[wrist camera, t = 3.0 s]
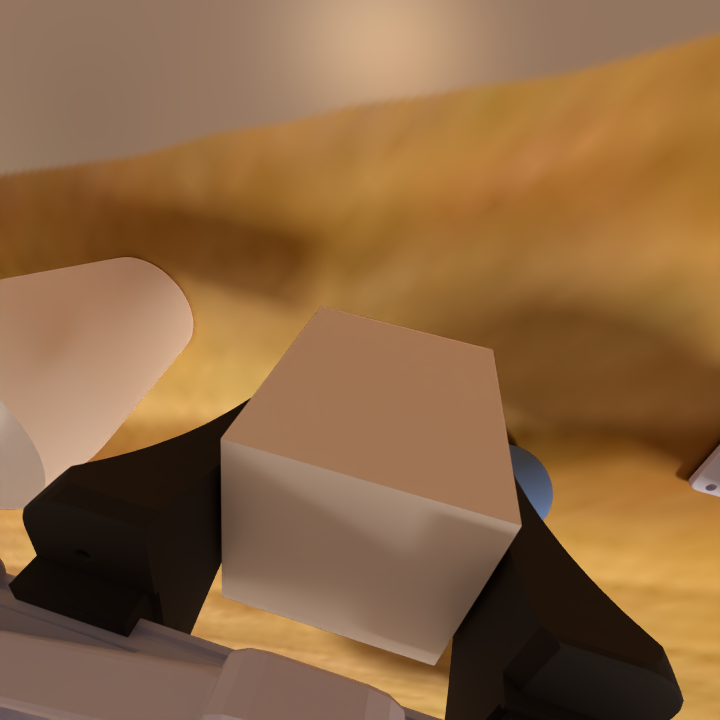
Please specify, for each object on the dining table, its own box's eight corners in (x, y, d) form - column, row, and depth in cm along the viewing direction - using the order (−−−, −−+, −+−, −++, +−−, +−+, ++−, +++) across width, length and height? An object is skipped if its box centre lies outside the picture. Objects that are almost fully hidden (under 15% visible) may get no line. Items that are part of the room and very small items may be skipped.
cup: (147, 386, 29) (-21, 528, 19) (53, 275, 26) (-212, 373, 15) (240, 342, 25) (94, 487, 15) (144, 206, 22) (-124, 275, 12)
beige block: (492, 349, 13) (521, 525, 7) (442, 473, 17) (434, 665, 11) (321, 305, 14) (220, 438, 8) (303, 433, 17) (222, 596, 11)
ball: (557, 439, 24) (579, 507, 20) (525, 494, 27) (537, 564, 22) (474, 417, 24) (478, 478, 20) (450, 474, 27) (449, 538, 23)
